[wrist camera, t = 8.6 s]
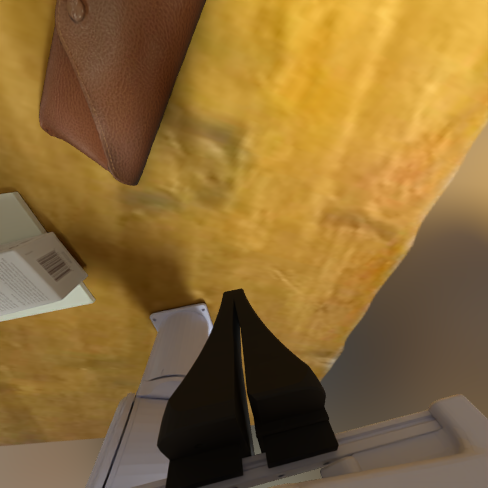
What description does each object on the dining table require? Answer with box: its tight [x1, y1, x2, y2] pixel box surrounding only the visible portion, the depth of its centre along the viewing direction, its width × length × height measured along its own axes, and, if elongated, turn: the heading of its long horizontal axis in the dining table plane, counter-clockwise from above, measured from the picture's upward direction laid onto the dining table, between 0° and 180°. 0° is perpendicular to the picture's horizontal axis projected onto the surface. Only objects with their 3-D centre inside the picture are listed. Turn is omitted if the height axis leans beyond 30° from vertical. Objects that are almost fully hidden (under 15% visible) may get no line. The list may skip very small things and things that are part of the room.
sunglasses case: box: [39, 0, 206, 186], centre depth 13 cm, size 18×7×7 cm, turn 149°
